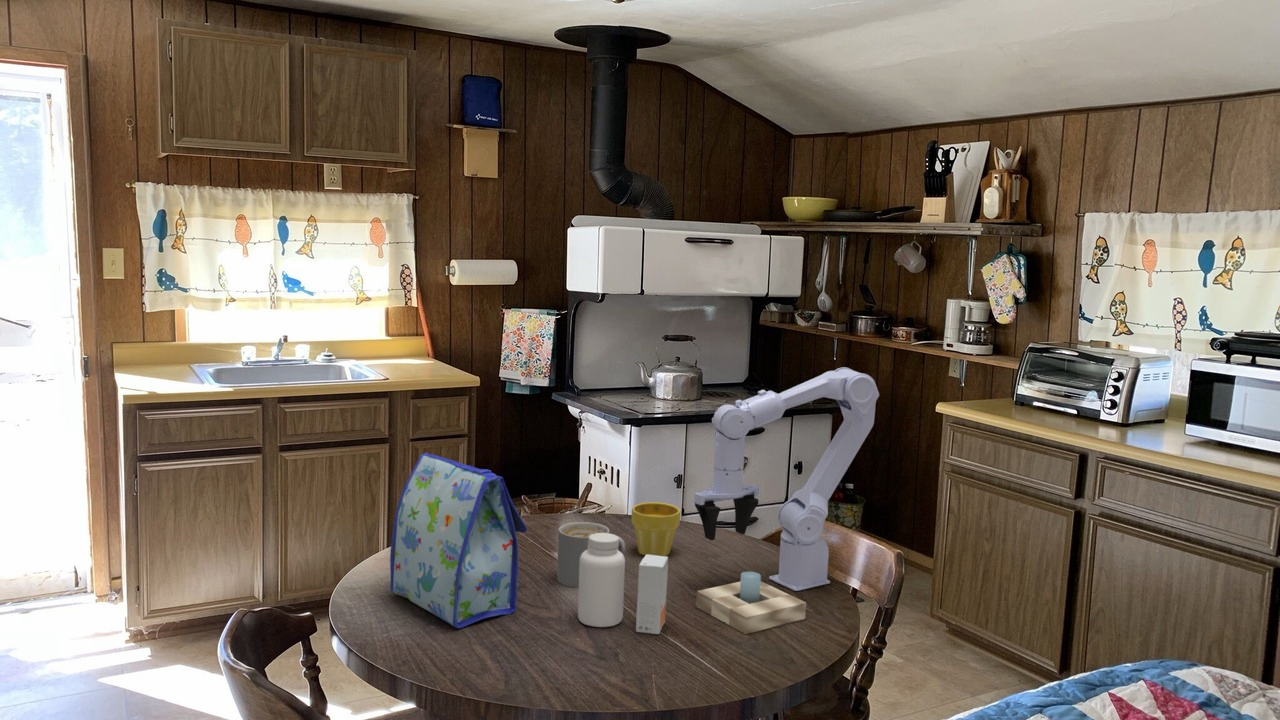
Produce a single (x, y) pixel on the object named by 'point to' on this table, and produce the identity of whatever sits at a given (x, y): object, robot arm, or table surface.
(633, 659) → the table surface
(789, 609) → the socket block
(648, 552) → the plant pot
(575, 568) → the coffee mug
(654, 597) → the skincare box
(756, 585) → the peg
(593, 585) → the pill bottle
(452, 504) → the lunch bag
